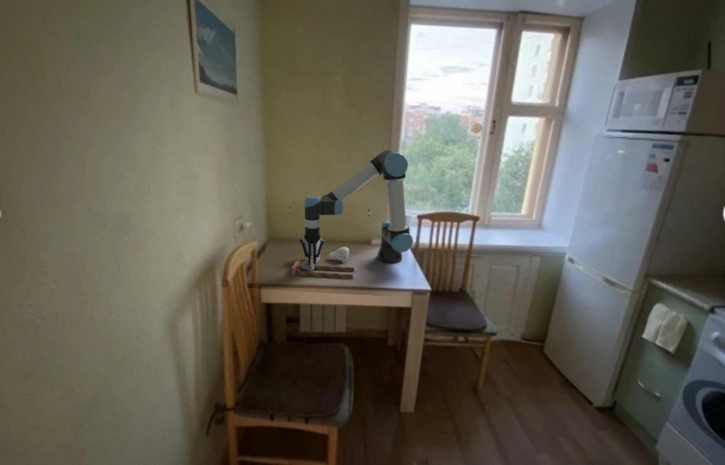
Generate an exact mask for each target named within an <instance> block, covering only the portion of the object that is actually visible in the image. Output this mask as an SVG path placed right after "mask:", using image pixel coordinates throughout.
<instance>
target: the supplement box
mask: <svg viewBox="0 0 725 465" xmlns="http://www.w3.org/2000/svg"><path fill="white" fill-rule="evenodd" d="M305 244H306V248H307V252H308V243H307V241H306V240H305ZM319 245H320V240H319V241H318V242H317V243H316V255H317V253H318V249H319ZM311 253H312V256H311V257H313V244H312V245H311ZM320 260H321V254H320V255H319V257H317V258H316V263H315V264H314V265H316V264H318V262H319V261H320ZM304 261H309V258H308V257H305V256H304Z"/></svg>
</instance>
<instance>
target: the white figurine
mask: <svg viewBox="0 0 725 465" xmlns="http://www.w3.org/2000/svg"><path fill="white" fill-rule="evenodd" d="M328 255H329V258H330V259H331V261H334V260H335V259H338V260H340V261H341V263H342V264H344V263H345V262H346V261H348V259H349V256H350V249H349V248H348V247H347V246H342V247H339V248H338V249H336V250H335V251H333V252H330V253H329V254H328Z"/></svg>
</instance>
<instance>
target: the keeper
mask: <svg viewBox="0 0 725 465" xmlns="http://www.w3.org/2000/svg"><path fill="white" fill-rule="evenodd" d="M299 271H307V272H312V270H311V264H309V261H305V260H303V261H300V268H299Z"/></svg>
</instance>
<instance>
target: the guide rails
mask: <svg viewBox="0 0 725 465" xmlns="http://www.w3.org/2000/svg"><path fill="white" fill-rule="evenodd" d="M299 269H300V265H299ZM314 270H319V271H320V272H318V271H311V272H307V271H300V270H298V271H296V272H295V275H294V276H299V277H300V276H301V277H315V278H316V277H317V278H333V279H352V280H353V278H354V274H352V273H339V272H355V267H354V266H339V265H338V266H336V265H321V264H319V265H318V264H317V265H316V264H314ZM321 270H322V271H336V272H321ZM337 271H338V273H337Z"/></svg>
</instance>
